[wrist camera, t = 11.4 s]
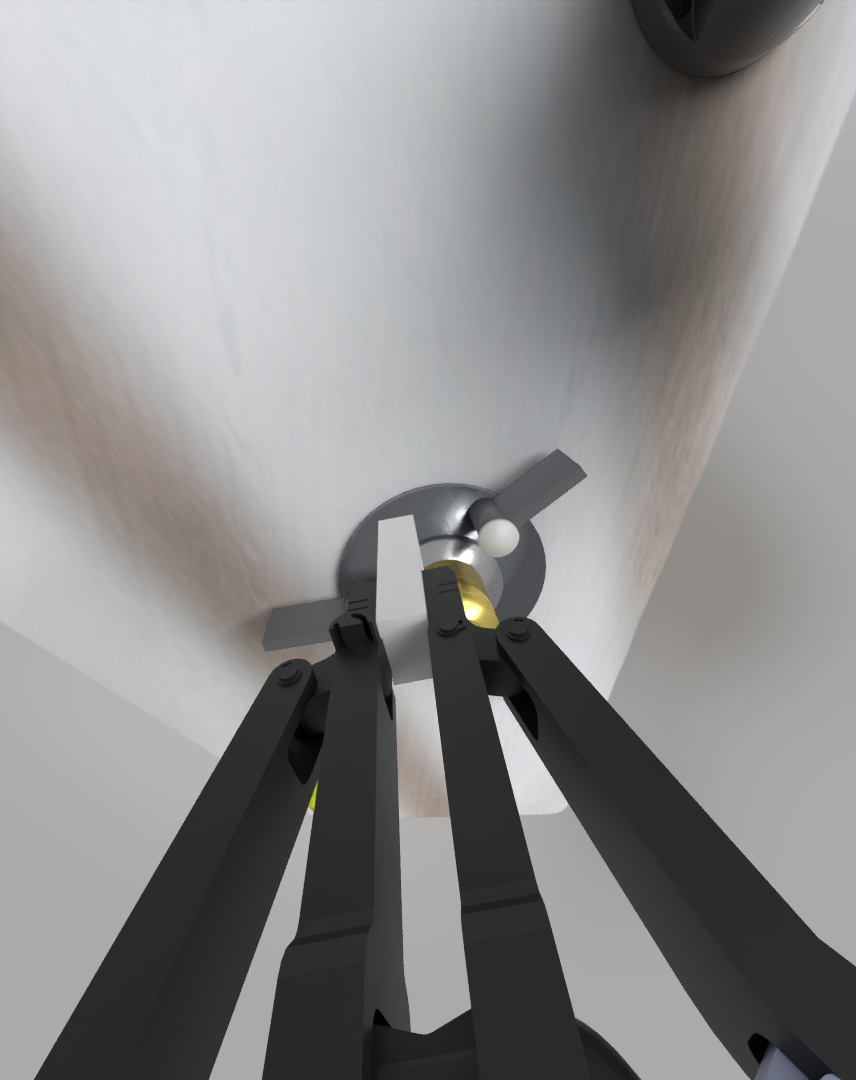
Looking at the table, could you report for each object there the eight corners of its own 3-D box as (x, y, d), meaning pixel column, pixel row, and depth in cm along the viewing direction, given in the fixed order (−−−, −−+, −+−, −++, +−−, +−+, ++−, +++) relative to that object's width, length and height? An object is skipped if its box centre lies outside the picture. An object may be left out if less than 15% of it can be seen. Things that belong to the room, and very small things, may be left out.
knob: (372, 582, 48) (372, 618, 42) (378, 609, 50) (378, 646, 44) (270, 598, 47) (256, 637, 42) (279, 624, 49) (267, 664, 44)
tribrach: (545, 467, 45) (597, 517, 34) (541, 638, 56) (579, 715, 46) (317, 501, 44) (299, 563, 33) (361, 668, 55) (358, 753, 45)
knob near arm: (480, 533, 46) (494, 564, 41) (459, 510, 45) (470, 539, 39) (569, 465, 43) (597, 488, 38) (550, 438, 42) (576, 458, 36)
